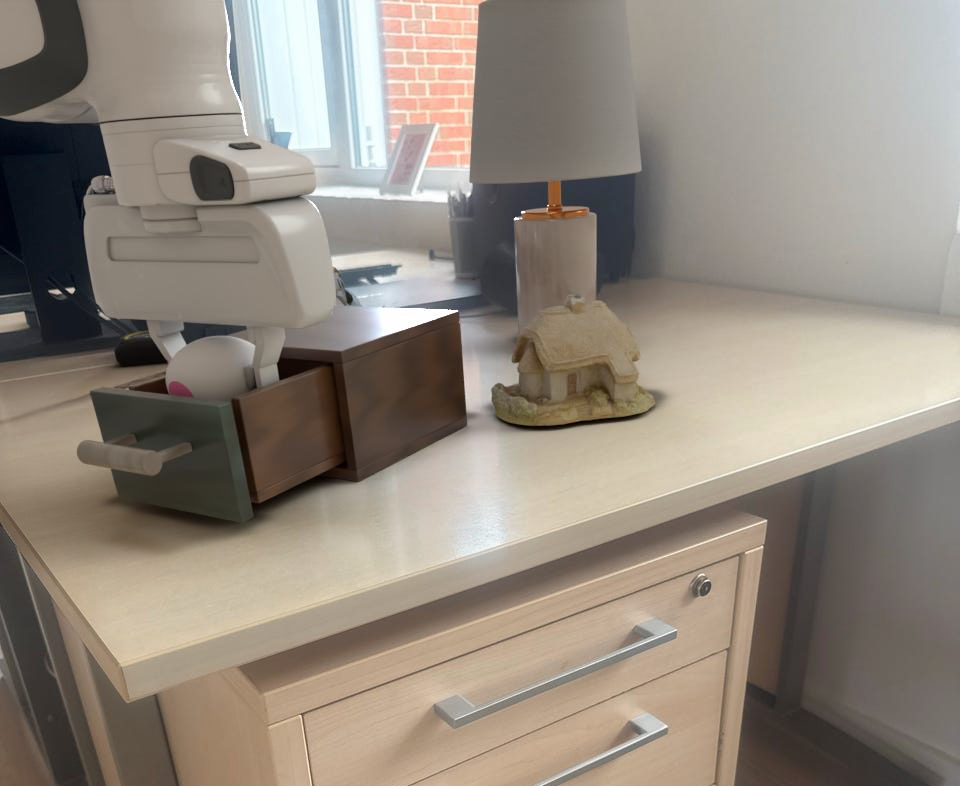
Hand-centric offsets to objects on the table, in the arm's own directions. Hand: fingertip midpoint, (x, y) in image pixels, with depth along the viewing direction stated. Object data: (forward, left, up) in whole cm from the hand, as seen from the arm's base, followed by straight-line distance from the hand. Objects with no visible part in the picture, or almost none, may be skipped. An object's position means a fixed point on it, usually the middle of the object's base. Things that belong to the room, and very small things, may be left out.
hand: (225, 386), depth 65 cm
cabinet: (0, +13, -8) cm, 15 cm away
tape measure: (-44, +29, -8) cm, 53 cm away
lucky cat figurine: (-29, +44, -8) cm, 53 cm away
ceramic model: (+14, +28, -8) cm, 32 cm away
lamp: (-1, +54, -8) cm, 55 cm away
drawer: (0, -2, -7) cm, 7 cm away
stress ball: (-1, 0, -2) cm, 2 cm away
